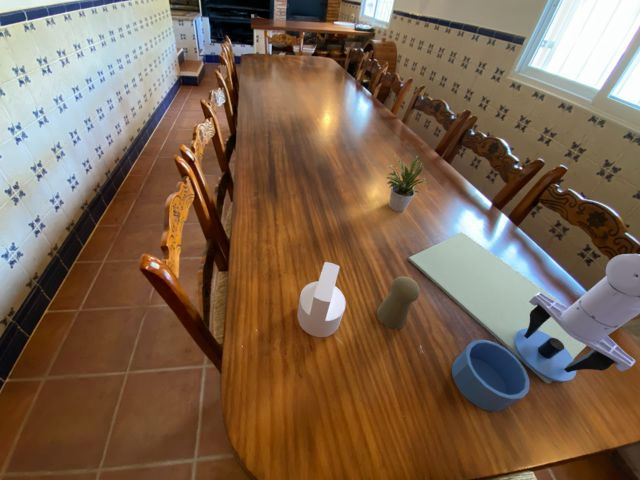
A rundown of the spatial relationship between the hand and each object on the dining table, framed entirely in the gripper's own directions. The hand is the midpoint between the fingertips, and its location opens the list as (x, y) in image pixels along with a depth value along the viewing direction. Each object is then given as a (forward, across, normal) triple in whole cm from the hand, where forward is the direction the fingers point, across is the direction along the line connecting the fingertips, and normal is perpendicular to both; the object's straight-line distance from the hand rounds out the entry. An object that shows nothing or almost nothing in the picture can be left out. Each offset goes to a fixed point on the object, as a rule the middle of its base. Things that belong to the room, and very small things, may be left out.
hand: (547, 351), depth 57 cm
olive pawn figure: (+3, +20, +20) cm, 29 cm away
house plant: (+3, +50, -11) cm, 51 cm away
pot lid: (+1, 0, 0) cm, 1 cm away
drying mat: (+3, +14, -7) cm, 15 cm away
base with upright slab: (+3, +28, +34) cm, 44 cm away
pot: (+3, +3, +15) cm, 16 cm away
